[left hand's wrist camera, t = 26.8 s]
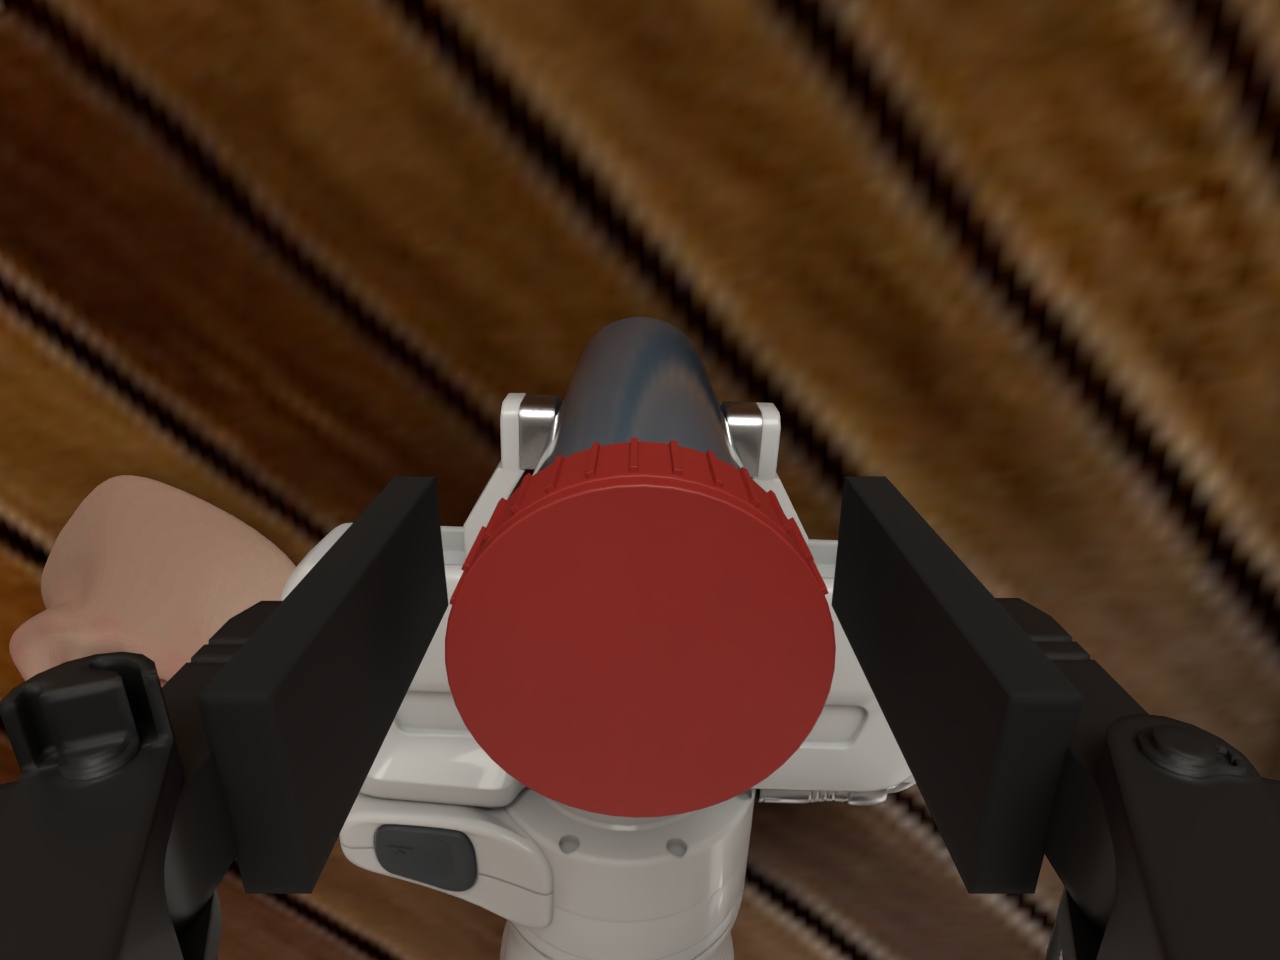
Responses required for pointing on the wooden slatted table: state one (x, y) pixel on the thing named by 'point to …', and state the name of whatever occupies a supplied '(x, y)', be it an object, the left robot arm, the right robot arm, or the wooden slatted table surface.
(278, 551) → the anatomical model
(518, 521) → the lid
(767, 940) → the wooden slatted table surface
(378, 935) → the wooden slatted table surface
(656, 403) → the blue grey capped cylinder
